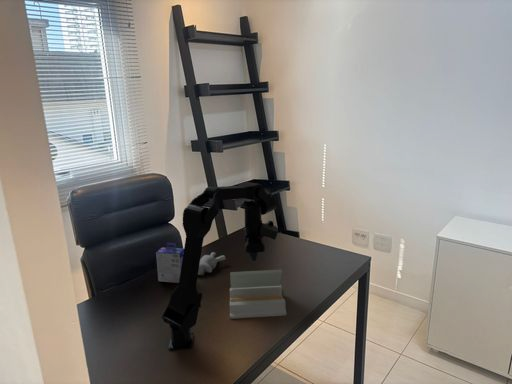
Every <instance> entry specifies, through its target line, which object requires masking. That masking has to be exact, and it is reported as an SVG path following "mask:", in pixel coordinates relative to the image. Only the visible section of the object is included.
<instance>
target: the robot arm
mask: <svg viewBox="0 0 512 384" xmlns="http://www.w3.org/2000/svg"><path fill="white" fill-rule="evenodd" d="M240 199H241V200H242V199H245V200H244V201H243V202H242V203H241V204H240V209H242V210H244V226H243V234H244V235H245V237H244V244H245V253H247V254H249V256H250V258H251V261H253V262H255V261H256V260H257V257H258V253H264V252H265V250H266V248H265V242H264V241H263V239H264V237H266V238H270V239H271V240H276V239H277V236H278V233H279V229H278V227H277V226H276V225H275V224H274V221H272V220H268V221H267V222H264V223H263V220H262V216H264V215H267V214H269V213H271V212H273V211H274V210H276V209H277V201H276V199H275V198H274V197H273V194H272V192H266V190H265V188H264V185H263V184H261V183H257V182H256V183H255V182H249V181H244V182H241V183H239V184H238V185H229V186H207V187H206V188H205V189H204V191H203V192H202V193H201V194H199V195H198V196H196V197H194V198H193V199H192V200H191V201H190V203H189V204H188V205H187V206H186V207H184V210H183V213H182V227H183V229H184V233H185V241H184V253H183V260H182V266H181V273H180V279H179V283H177V286H176V287H175V289H174V290H173V291H172V292H171V294H170V295H171V296H170V300H169V303H168V304H167V307H166V309H165V310H164V312H163V314H162V316H161V319H162V321H163V323H166V324H168V325H169V331H170V339H169V344H168V350H171V351H172V350H183V349H184V350H185V349H192V348H193V342H194V335H195V334H194V332H192V331H191V328H193V327H194V326H196V324H197V320H198V315H199V311H200V308H201V307H202V303H201V302H202V298H203V293H202V292H200V291H198V289H197V282H198V277H199V275H198V271H199V264H200V259H201V258H202V251H203V250H202V249H203V243H204V238H205V237H206V235H208V233H209V232H210V231H211V227H212V225H213V222H214V220H215V219H216V216H217V215H218V214H219V212H220V205H221V202H222V201H227V200H229V201H230V200H240ZM247 200H248V201H247ZM209 201H211V205H210V206H209V207H207V206H205V205H206V204H207V203H209Z"/></svg>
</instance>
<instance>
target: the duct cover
mask: <svg viewBox="0 0 512 384" xmlns="http://www.w3.org/2000/svg"><path fill="white" fill-rule="evenodd" d="M282 275H283V269H268V270H267V269H266V270H249V271H248V270H246V271H244V270H243V271H230V272H229V278H230V288H250V287H268V286H280V285H281V281H282Z"/></svg>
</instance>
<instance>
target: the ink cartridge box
mask: <svg viewBox="0 0 512 384" xmlns="http://www.w3.org/2000/svg"><path fill="white" fill-rule="evenodd" d="M176 246H177V244H176V242H166V247H161V248H159V249H158V250H157V251H156V252H155V256H156V266H157V267H156V268H157V269H156V270H157V280H158V282H160V283H161V282H162V283H163V282H165V283H177V284H179V279H180V273H181V266H182V260H183V253H184V248H182V247H181V248H179V247H176Z"/></svg>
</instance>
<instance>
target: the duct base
mask: <svg viewBox="0 0 512 384" xmlns="http://www.w3.org/2000/svg"><path fill="white" fill-rule="evenodd" d="M280 316H281V317H282V316H287V310H286V299H285V298H283V287H282V285H281V284H280V286H268V287H250V288H231V287H229V319H246V318H251V319H252V318H265V317H280Z"/></svg>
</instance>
